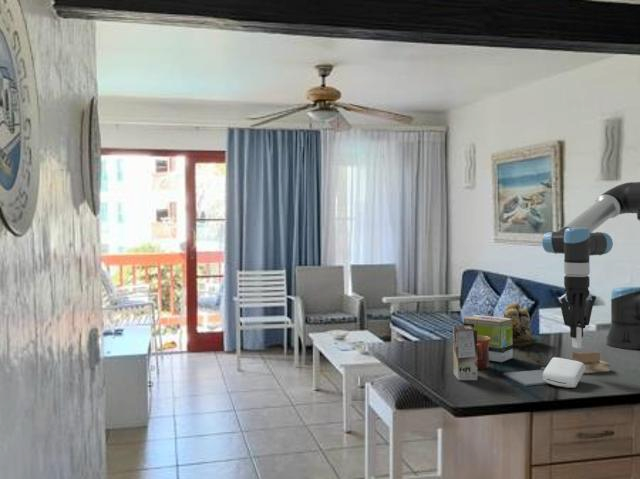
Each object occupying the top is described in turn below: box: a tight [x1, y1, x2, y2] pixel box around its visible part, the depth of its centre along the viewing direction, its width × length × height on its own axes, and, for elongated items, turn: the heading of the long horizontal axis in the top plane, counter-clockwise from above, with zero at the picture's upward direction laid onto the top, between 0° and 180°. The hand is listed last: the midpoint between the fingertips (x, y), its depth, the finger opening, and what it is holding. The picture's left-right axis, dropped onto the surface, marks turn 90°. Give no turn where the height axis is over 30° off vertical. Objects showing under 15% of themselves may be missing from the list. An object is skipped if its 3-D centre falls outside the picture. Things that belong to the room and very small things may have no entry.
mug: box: [477, 335, 491, 370], centre depth 198 cm, size 12×9×10 cm
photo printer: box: [543, 357, 585, 389], centre depth 179 cm, size 10×4×12 cm
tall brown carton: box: [571, 350, 601, 364], centre depth 193 cm, size 14×4×4 cm, turn 99°
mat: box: [503, 366, 550, 387], centre depth 185 cm, size 15×13×1 cm
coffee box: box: [452, 324, 478, 381], centre depth 188 cm, size 9×6×16 cm
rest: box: [583, 359, 611, 374], centre depth 194 cm, size 12×6×2 cm, turn 103°
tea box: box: [463, 314, 514, 363], centre depth 213 cm, size 15×10×15 cm, turn 47°
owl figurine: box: [502, 302, 536, 349], centre depth 233 cm, size 18×12×17 cm, turn 137°
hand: (576, 347), depth 188 cm, fingers closed
